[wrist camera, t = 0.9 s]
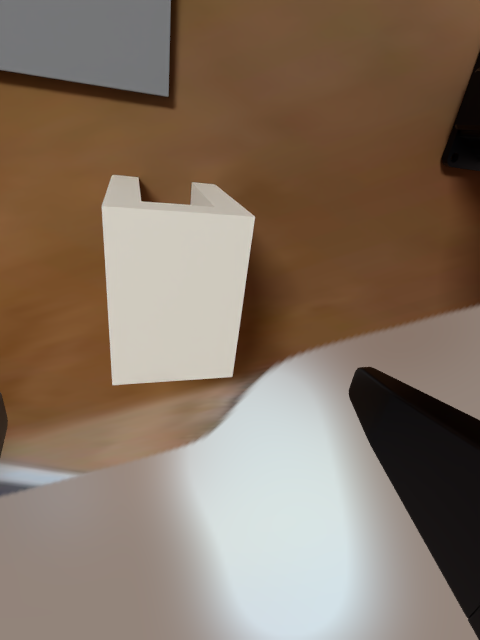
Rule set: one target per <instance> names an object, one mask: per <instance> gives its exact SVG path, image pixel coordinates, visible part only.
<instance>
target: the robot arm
mask: <svg viewBox="0 0 480 640" xmlns="http://www.w3.org/2000/svg"><path fill="white" fill-rule="evenodd" d="M452 155H453V158H452V160H451V157H452ZM442 163H443V165H445V166H448V167H455V168H462V169H470V170H477V171H480V54H479V56H478V59H477V62H476V65H475V67H474V70H473V73H472V76H471V79H470V81H469V84H468V87H467V90H466V93H465V95H464V98H463V101H462V104H461V106H460V109H459V112H458V115H457V118H456V120H455V123H454V126H453V129H452V132H451V134H450V137H449V140H448V143H447V146H446V148H445V151H444V154H443V157H442ZM349 397H350V400H351V402H352V404H353V407H354V409H355V411H356V414H357V416H358V418H359V420H360V423H361V425H362V427H363V430H364V432H365V434H366V436H367V438H368V441H369V443H370V445H371V447H372V448H373V451H374V452H375V454H376V456H377V458H378V459H379V461H380V463H381V465H382V466H383V469H384V470H385V472H386V474H387V476H388V477H389V479H390V481H391V483H392V484H393V486H394V488H395V490H396V492H397V493H398V495H399V497H400V499H401V501H402V502H403V504H404V506H405V508H406V510H407V511H408V513H409V515H410V517H411V519H412V520H413V522H414V524H415V526H416V528H417V529H418V531H419V533H420V535H421V536H422V538H423V540H424V542H425V544H426V545H427V547H428V549H429V551H430V553H431V554H432V556H433V558H434V560H435V561H436V563H437V565H438V567H439V569H440V570H441V572H442V574H443V576H444V577H445V579H446V581H447V583H448V585H449V587H450V588H451V590H452V592H453V593H454V596H455V597H456V599H457V601H458V603H459V604H460V606H461V608H462V610H463V612H464V613H465V615H466V617H467V618H468V621H469V623H470V625H471V626H472V628H473V630H474V631H475V634H476V635H477V637H478V639H479V640H480V420H478V419H476V418H474V417H472V416H470V415H468V414H465V413H464V412H462V411H460V410H458V409H455V408H454V407H452V406H450V405H448V404H445V403H443V402H441V401H439V400H437V399H435V398H433V397H431V396H429V395H427V394H425V393H423V392H421V391H419V390H417V389H415V388H413V387H411V386H409V385H407V384H405V383H403V382H401V381H399V380H397V379H395V378H393V377H391V376H389V375H387V374H385V373H383V372H381V371H379V370H377V369H374V368H372V367H361V368H358V369H357V370H356V372H355V374H354V377H353V379H352V383H351V385H350V388H349ZM7 424H8V420H7V414H6V410H5V406H4V402H3V398H2V394H1V393H0V456H1V452H2V448H3V443H4V439H5V435H6V430H7Z"/></svg>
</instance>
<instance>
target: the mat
mask: <svg viewBox="0 0 480 640" xmlns="http://www.w3.org/2000/svg"><path fill="white" fill-rule="evenodd" d="M170 14H171V0H0V70H1V71H7V72H14V73H20V74H26V75H32V76H39V77H45V78H51V79H57V80H64V81H70V82H76V83H82V84H89V85H95V86H101V87H108V88H114V89H120V90H126V91H133V92H139V93H145V94H151V95H158V96H164V97H169V56H170Z"/></svg>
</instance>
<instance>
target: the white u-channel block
mask: <svg viewBox="0 0 480 640" xmlns="http://www.w3.org/2000/svg"><path fill="white" fill-rule="evenodd" d="M102 217H103V234H104V251H105V268H106V284H107V301H108V318H109V335H110V352H111V368H112V385H120V384H135V383H150V382H165V381H179V380H194V379H209V378H224V377H233V370H234V362H235V355H236V348H237V341H238V334H239V327H240V320H241V313H242V306H243V299H244V291H245V284H246V277H247V270H248V263H249V256H250V249H251V242H252V235H253V228H254V220H255V216H253V215H252V214H251V213H250V212H248V211H247V210H246V209H245V208H244V207H242V206H241V205H240V204H239V203H237V202H236V201H235V200H234V199H232V198H231V197H230V196H229V195H227V194H226V193H225V192H224V191H223V190H221V189H220V188H219V187H218V186H216V185H215V184H205V183H194V182H192V189H191V205H183V204H169V203H156V202H143V201H141V195H140V187H139V178H138V177H130V176H119V175H112V177H111V180H110V183H109V186H108V189H107V192H106V195H105V198H104V201H103V204H102Z"/></svg>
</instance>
